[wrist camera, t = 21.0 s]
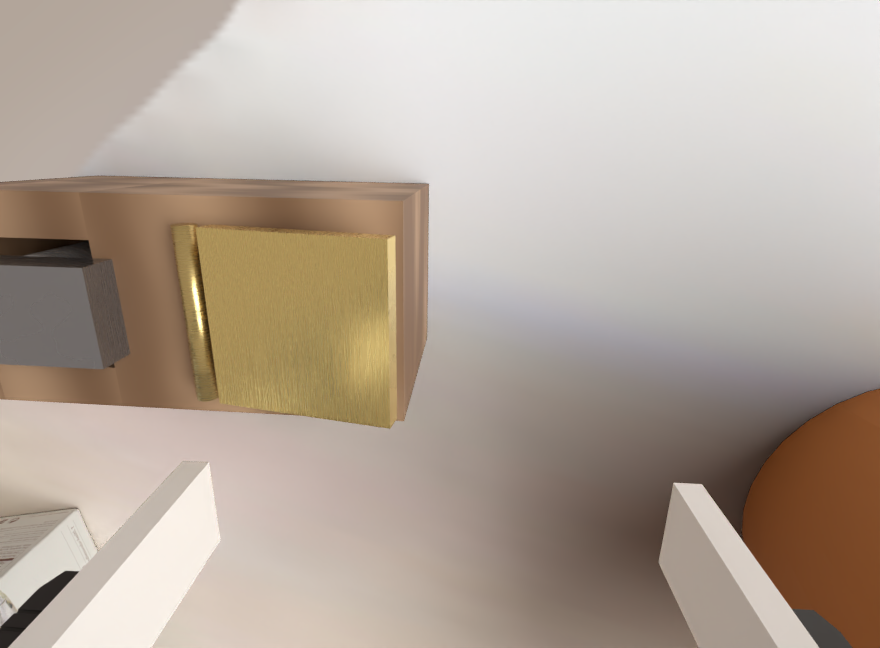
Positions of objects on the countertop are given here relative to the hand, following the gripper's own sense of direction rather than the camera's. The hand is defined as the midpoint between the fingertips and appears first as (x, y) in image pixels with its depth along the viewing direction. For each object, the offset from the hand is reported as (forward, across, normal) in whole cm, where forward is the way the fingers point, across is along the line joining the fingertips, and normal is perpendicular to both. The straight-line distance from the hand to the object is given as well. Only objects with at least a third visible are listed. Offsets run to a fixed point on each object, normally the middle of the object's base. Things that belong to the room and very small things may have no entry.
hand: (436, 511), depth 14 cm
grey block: (+16, -16, +4) cm, 24 cm away
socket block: (+17, -11, +4) cm, 21 cm away
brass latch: (+6, -10, +4) cm, 12 cm away
